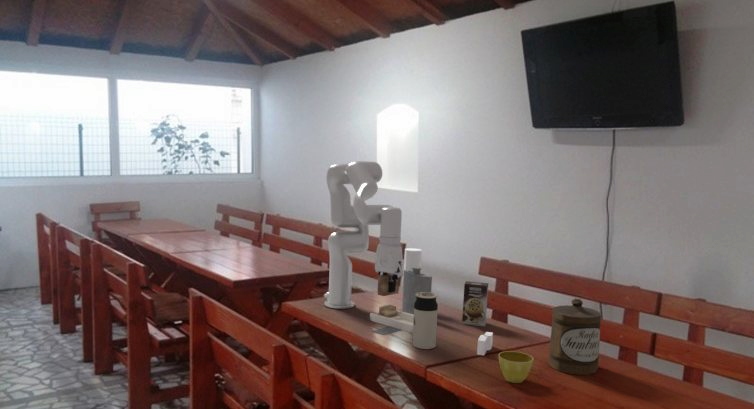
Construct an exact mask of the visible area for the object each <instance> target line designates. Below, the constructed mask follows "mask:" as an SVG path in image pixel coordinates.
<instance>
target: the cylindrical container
mask: <svg viewBox="0 0 754 409" xmlns="http://www.w3.org/2000/svg"><path fill="white" fill-rule="evenodd" d="M422 253H423V249H421V248H414V247H409V248H404V260H403V261H404V263H403V266H404V267H403V271H404V270H412V267H420V268H421V270H420V273H421V274H422V256H423V255H422Z"/></svg>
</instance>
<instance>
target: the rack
mask: <svg viewBox="0 0 754 409" xmlns="http://www.w3.org/2000/svg"><path fill="white" fill-rule="evenodd" d="M396 312H397V316H395V317H391V318H388V317H384V316H381V315H378V313H374V312H370V313H369V321H371V322H375V323H377V324H381V325H385V326H386V327H389V326H390V327H394V328H397V329H400V330H401V331H405V332H408V333H411V334H413V321H414V315H413V314H409V313H405V312H402V310H398V309H396Z"/></svg>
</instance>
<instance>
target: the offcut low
mask: <svg viewBox="0 0 754 409" xmlns="http://www.w3.org/2000/svg"><path fill="white" fill-rule="evenodd" d="M377 314H378V315H381V316H384V317H388V318H391V317H395V316H397V312H396V313H392V314H388V315H384V314H380V313H379V312H378V313H377Z"/></svg>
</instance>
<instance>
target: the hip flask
mask: <svg viewBox="0 0 754 409" xmlns="http://www.w3.org/2000/svg"><path fill="white" fill-rule="evenodd" d="M420 270H421V271H422V267H421V268H420V267H412V270H404V269H403V280H402V281H403V284H402V285H403V286H402V306H401V307H402V308H401V309H402V310H401V311H402V312H405V313H409V314H413V315H414V303H415V301H416V295H415V294H416V293H419V292H430V293H432V285H433V283H432V282H433V276H432V275H428V274H423V273H422V272H421V273H420Z"/></svg>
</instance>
